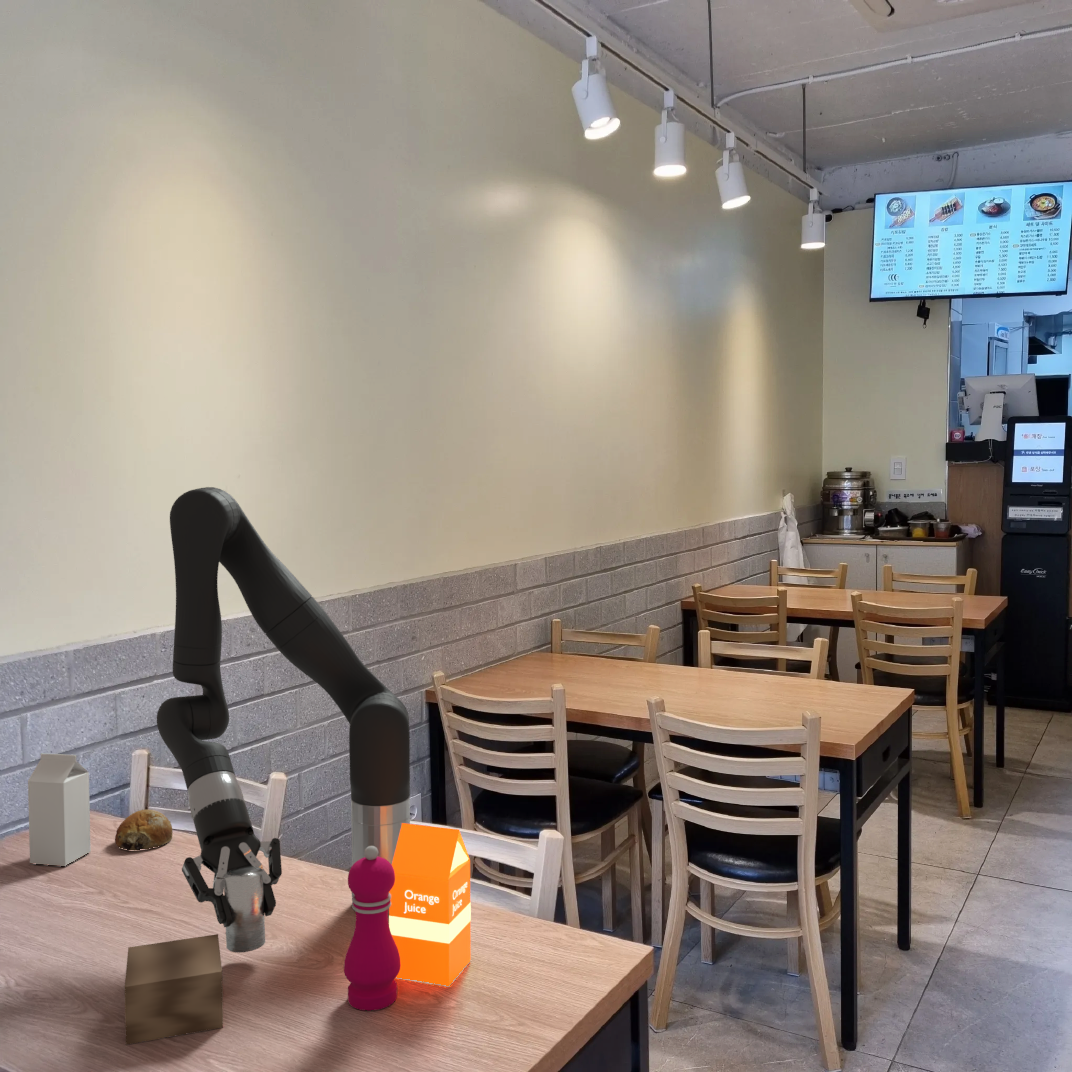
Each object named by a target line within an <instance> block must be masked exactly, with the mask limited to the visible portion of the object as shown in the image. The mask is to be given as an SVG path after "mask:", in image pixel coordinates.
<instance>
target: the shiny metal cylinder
mask: <svg viewBox="0 0 1072 1072" xmlns="http://www.w3.org/2000/svg"><path fill="white" fill-rule="evenodd" d="M223 895H225V896H226V898H227V902H228V905H229V909H230V913H231V916H232V922H231V925H230V926H228V927H225V941H226V942H225V943H226V945H225V946H226V949H227V950H228V951H229V952H231V953H232V952H233V953H238V954H239V953H248V952H252V951H256V950H258V949H260V948H262V947H263V946H264V945H265V943H266V928H265V927H266V923H265V913H264V892H263V870H262V869H261V868H259V867H255V866H254V867H253V866H244V867H238V868H234V869H231V870H229V871H227V873H225V874H224V891H223Z"/></svg>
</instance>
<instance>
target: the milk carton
mask: <svg viewBox="0 0 1072 1072" xmlns="http://www.w3.org/2000/svg"><path fill="white" fill-rule="evenodd" d="M27 796H28V797H27V798H28V834H29V835H28V838H29V839H28V840H29V845H28V846H29V864H30V863H36V864H49V865H60V866H59V867H61V866H65V867H67V866H68V865H67V864H69V863H71V862H73V861H74V862H76V861H77V860H76V859H78V858H80V857H81V856H83V855H85V854H87V853H89V852H90V853H91V813H90V812H91V810H90V809H91V808H90V807H91V806H90V772H89V771H88V770H87V769H86V768H85V767H84V766H83V765H81V764H80V763H79V762H78V761H77V755H75V754H63V753H62V754H60V753H40V760H39V761H38V763H37V765H36V766H35V768H34V770H33V772H32V773H31V775H30V776H29V778H28V780H27ZM90 853H89V854H90ZM87 855H88V854H87ZM85 856H86V855H85ZM80 859H81V858H80ZM75 860H76V861H75ZM78 860H79V859H78ZM74 862H73V863H74ZM36 864H35V865H36ZM71 864H72V863H71ZM66 865H67V866H66ZM69 865H70V864H69Z"/></svg>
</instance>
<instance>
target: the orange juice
mask: <svg viewBox="0 0 1072 1072" xmlns="http://www.w3.org/2000/svg"><path fill="white" fill-rule="evenodd" d="M392 866H393V869H394V872H395V883H394V886H393V887H392V889H391V890H390V891H389V893H390V894H391V899H390V900H391V906H390V908H389V915H388V924H389V928H390V932H391V934H392V937H393V939H394V941H395V944H396V946H397V948H398V952H399V956H400V964H401V967H400V971H399V973H398V975H397V976H396V977H397V978H402V979H410V980H417V981H422V982H423V981H424V982H429V983H433V984H434V983H435V984H441V985H446V986H449V985H450V984H451V983H452V982H453V980H454V979H455V978H456V977H457V976H458V975H459V973H460V972H461V971H462V970H463V968H464V967H465V966H466V965H467V964H468V963H469V962H470V960H471V959H472V957H471V950H472V949H471V947H472V946H471V941H472V940H471V937H472V936H471V920H472V913H471V912H472V906H471V905H472V902H471V859H470V856H469V853H468V851H467V846H466V844H465V842H464V838H463V835H462V834H461V831H460V829H457V828H456V829H455V828H450V827H439V826H431V825H422V824H412V823H410V824H405V823H402V826H401V830H400V834H399V838H398V842H397V846H396V850H395V854H394V858H393V862H392ZM471 961H472V960H471Z"/></svg>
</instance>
